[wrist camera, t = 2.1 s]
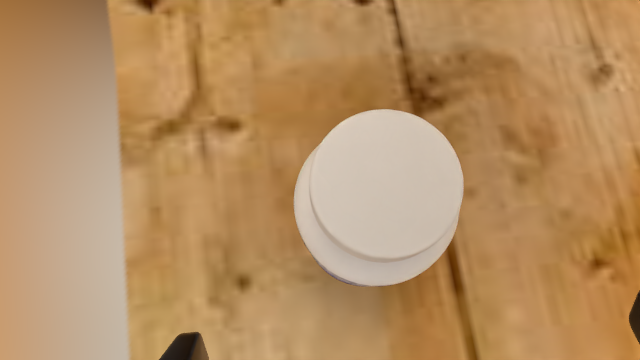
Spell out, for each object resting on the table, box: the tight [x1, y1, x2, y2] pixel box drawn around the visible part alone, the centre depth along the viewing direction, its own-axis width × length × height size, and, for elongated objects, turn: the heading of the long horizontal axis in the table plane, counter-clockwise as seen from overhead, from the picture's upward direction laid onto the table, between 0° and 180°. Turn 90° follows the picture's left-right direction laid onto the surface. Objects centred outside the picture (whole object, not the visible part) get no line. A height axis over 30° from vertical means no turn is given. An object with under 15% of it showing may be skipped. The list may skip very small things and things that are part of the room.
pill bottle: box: [294, 109, 464, 286], centre depth 16 cm, size 5×5×9 cm
